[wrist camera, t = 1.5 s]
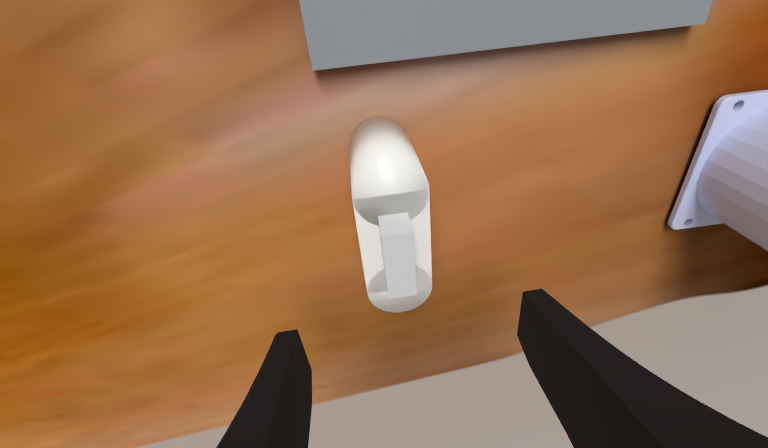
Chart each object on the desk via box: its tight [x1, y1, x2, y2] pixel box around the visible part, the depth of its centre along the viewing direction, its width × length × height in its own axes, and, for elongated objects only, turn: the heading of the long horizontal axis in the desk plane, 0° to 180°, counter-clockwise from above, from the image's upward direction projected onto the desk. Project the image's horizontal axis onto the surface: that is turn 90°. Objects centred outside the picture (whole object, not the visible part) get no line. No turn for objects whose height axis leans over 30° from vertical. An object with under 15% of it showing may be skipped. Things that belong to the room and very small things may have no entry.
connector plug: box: [349, 116, 432, 312], centre depth 17 cm, size 3×8×6 cm, turn 5°
